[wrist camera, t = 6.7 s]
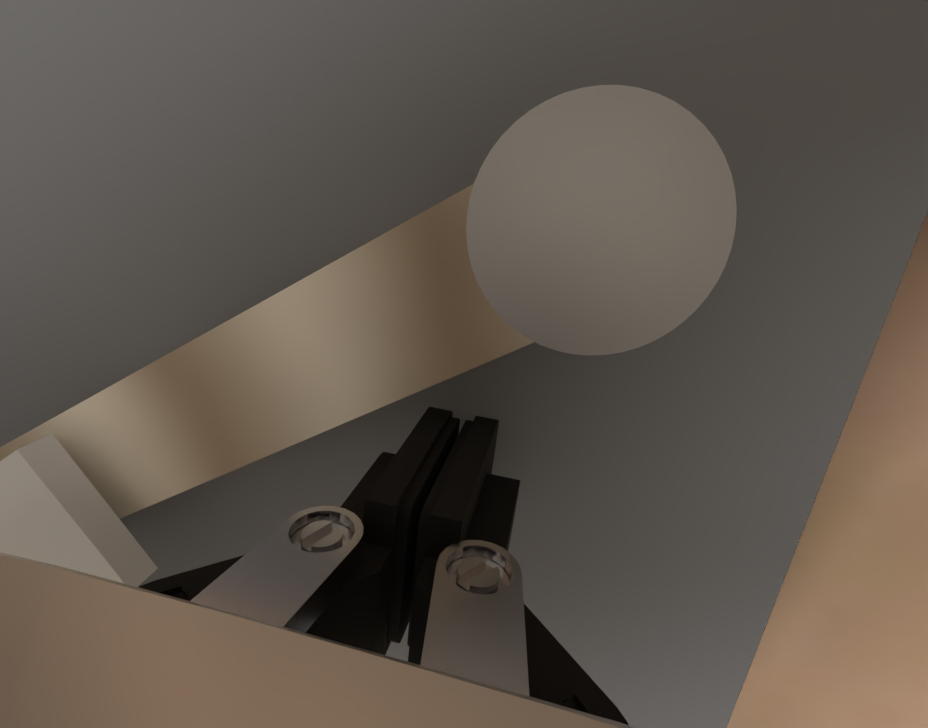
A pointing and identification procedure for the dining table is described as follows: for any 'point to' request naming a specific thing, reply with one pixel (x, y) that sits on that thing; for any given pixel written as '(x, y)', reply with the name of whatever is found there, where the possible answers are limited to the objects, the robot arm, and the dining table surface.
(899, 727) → the dining table surface
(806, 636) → the dining table surface
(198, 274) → the board
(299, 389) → the link
